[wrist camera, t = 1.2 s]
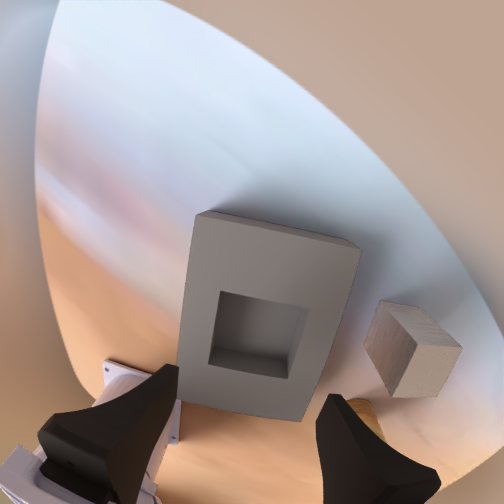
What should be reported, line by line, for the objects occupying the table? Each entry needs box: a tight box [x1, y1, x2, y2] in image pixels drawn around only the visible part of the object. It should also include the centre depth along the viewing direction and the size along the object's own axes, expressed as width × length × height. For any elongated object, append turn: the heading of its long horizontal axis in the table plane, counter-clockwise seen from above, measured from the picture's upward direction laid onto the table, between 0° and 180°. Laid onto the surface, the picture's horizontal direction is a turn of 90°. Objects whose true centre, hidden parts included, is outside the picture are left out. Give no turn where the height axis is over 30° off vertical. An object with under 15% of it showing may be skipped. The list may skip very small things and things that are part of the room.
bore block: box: [176, 210, 362, 422], centre depth 20 cm, size 14×10×4 cm
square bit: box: [363, 301, 463, 398], centre depth 18 cm, size 4×4×7 cm
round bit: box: [346, 399, 387, 443], centre depth 20 cm, size 4×4×7 cm
